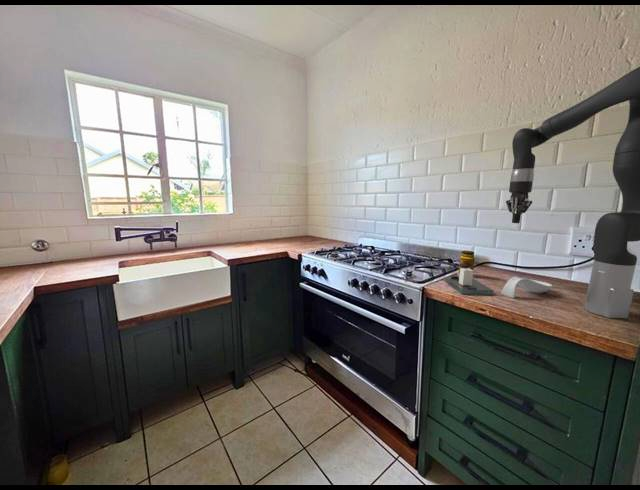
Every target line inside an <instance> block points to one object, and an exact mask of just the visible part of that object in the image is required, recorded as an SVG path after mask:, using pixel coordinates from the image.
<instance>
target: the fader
mask: <svg viewBox="0 0 640 490" xmlns="http://www.w3.org/2000/svg"><path fill="white" fill-rule="evenodd" d="M473 275H474V269H473V270H471V269H469V268H460V276H459V283H460V284H461V285H470V286H472V279H474V278H473Z"/></svg>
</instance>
